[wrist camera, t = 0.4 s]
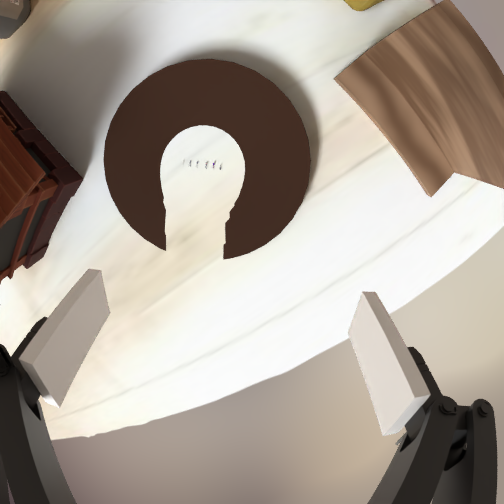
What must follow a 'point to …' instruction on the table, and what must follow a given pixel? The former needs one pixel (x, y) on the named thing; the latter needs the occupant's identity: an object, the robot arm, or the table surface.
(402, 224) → the table surface
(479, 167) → the cleat board
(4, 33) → the liquor
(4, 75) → the table surface
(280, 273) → the table surface
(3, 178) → the house
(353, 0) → the flower pot
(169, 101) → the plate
